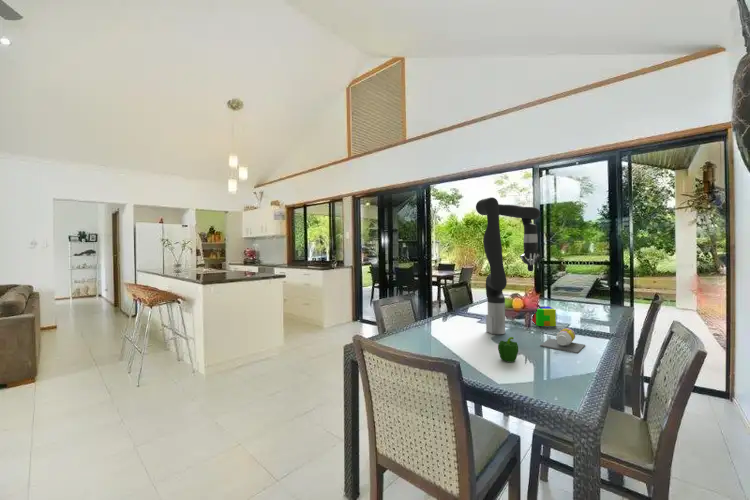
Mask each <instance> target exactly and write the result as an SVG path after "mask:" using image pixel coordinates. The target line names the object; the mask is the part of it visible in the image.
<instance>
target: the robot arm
mask: <svg viewBox="0 0 750 500" xmlns="http://www.w3.org/2000/svg"><path fill="white" fill-rule="evenodd" d="M475 210H476V212H477V214H479V215H481V216H486V219H487V220H486V221H487V223H486V225H487V226H486V228H485V232H484V235H483V238H482V239H483V249H484V254H485V256H486V259H487V262H488V265H489V268H490V269H489V271H490V273H489V274H488V275H487V276H486V278H485V293H486V294H485V295H486V299H487V300H486V301H487V314H486V315H485V324H486V325H485V326H486V327H485V328H486V329H485V330H486V331H485V332H487V333H489V334H491V335H504V334H506V298H505V296H504V293H503V290H504V289H505V288H506V286H507V284H508V283H507V282H508V280H507V276H506V272H505V267H504V258H503V247H502V238H501V230H500V216H502V217H509V218H516V219H521V223H522V226H523V253H522V255H520V256H519V257H520V259H521V260H522V261H523V263H524V264H526V266H527V271H528V272H533V271H534V265H536V264H538V263H539V261H540V259H541V257H542V255H540V254H539V252H538V250H539V249H538V248H539V246H538V243H539V242H538V237H539V236H538V225H537V224H536V223H533V222H532V220H533V221H534V220H537V219H539V218H540V216H541V211H540V209H539V208H538V207H536V206H535V207H534V206H521V205H518V204H502V203H501V204H500V203H499V201H498V199H496V197H491V196H490V197H487V198H481V199H479V200H478V201H477V203H476V204H475Z"/></svg>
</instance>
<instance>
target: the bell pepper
mask: <svg viewBox="0 0 750 500" xmlns="http://www.w3.org/2000/svg"><path fill="white" fill-rule="evenodd" d="M512 340H514V337H513V336H510V337H508V338H507V340H506V341H505V340H499V342H498V344H497V350H498V354H499V357H500V359H501V360H502V361H505V362H508V363H514V362H515V361H516V360H517V357H518V354H519V344H518V342H517V341H512Z"/></svg>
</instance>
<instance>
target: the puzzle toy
mask: <svg viewBox="0 0 750 500" xmlns="http://www.w3.org/2000/svg"><path fill="white" fill-rule="evenodd" d="M539 308H540V309H537V312H536V313H535V314H534V315H533V316H532V315H531V322H532V321H533V322H534V323H535V324H536V325H535V324H534V323H533V324H534V325H535V326H537V325H538V326H556V327H557V313H556V312H557V310H556V309H555V308H553V307H551V306H548V305H547V306H543V305H539ZM538 326H537V327H538Z"/></svg>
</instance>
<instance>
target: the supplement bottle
mask: <svg viewBox="0 0 750 500" xmlns="http://www.w3.org/2000/svg"><path fill="white" fill-rule="evenodd" d="M555 339H556V340H557V343H558V344H559V345H563V346H567V345H569V344H570V343H571V342H573V341H574V340H575V339H576V333H575V331H574V330H573V329H571V328H568V327H564V328H562V329H561V330H560V331H558V332H557V334H556V336H555Z"/></svg>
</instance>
